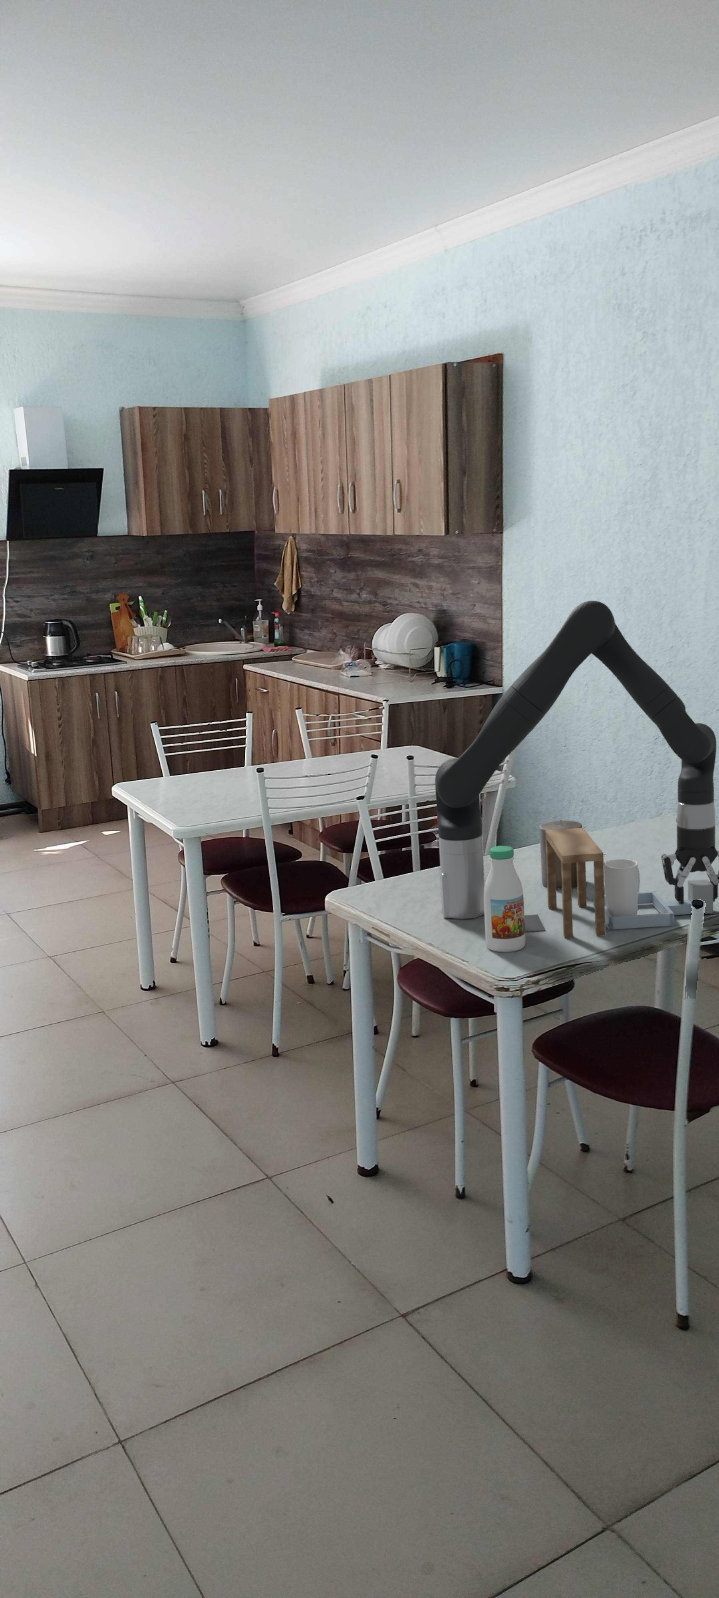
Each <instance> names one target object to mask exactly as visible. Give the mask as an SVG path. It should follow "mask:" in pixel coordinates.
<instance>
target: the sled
mask: <svg viewBox="0 0 719 1598" xmlns="http://www.w3.org/2000/svg"><path fill="white" fill-rule="evenodd" d="M695 899H701V900H703V901H705V903H706V907H705V914H706V915H707V914H714V902H713V884H712V883H711V882H710V880H708V879H695V880H687V899H684V904H680V903H679V902H678V901H677V900H670V901H669V900H668V901H664V900H663V899H662V898H661V897H660V896H659V894H658V893H657V892H656V891H655V890H654V891H653V890H652V891H650V890H649V891H639V894H638V905H647V904H648V905H649V904H652V905H653V906H654V908H655V910H657V911H658V913H648V914H647V913H645V914H644V913H643V914H637V915H629V916H614V917H612V916H611V914H610V913H609V911H608V910H607V909H606V902H605V894H604V902H605V926H606V927H607V928H608V930H622V929H623V930H624V929H637V928H639V929H640V928H651V927H665V926H666V927H667V926H675V916H678V915H679V916H680V915H690V913H691V911H692V908H691V901H693V900H695ZM593 908H595V894H594V895H593ZM705 914H704V915H705Z"/></svg>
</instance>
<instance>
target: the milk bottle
mask: <svg viewBox="0 0 719 1598" xmlns="http://www.w3.org/2000/svg"><path fill="white" fill-rule="evenodd" d="M514 851H515V850H514V847H512V846H510V845H497V846H496V845H495V846H493V847H491V848H490V850H489V857H490V862H491V864H490V868H489V869H490V870H489V872H488V875H487V876H486V880H485V887H484V912H485V914H484V931H485V945H486V947H487V948H488V949H489V950H491V951H493V952H500V953H511V952H518V951H520V950H522V949H523V948H524V947H525V945H526V933H525V917H524V915H525V901H524V899H525V898H524V889H523V885H522V882H521V879H520V877H519V875H518V873H517V871H516V868H515V865H514V860H515V857H514V855H515V852H514Z"/></svg>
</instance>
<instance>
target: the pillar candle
mask: <svg viewBox="0 0 719 1598" xmlns="http://www.w3.org/2000/svg"><path fill="white" fill-rule="evenodd" d="M538 828H539V845H540V846H539V848H540V866H541V867H540V873H541V884H542V885H543V887H545V888H547V862H546V833H545V830H558V829H573V828H583V824H582V822H579V821H575V820H566V819H565V820H564V819H560V820H552V821H546V822H545V823H541V824H540V825H539V827H538ZM555 870H556V890H562V873H561V860H560V859H559V857H558V856H557V854H556V852H555ZM571 887H572V889H576V888H577V862H575V863H571Z"/></svg>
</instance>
